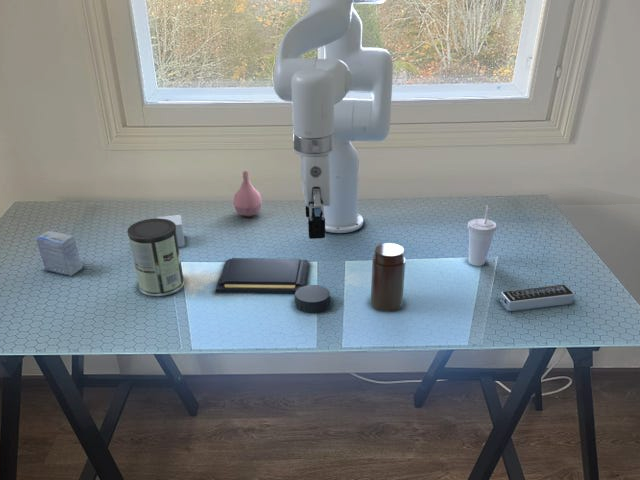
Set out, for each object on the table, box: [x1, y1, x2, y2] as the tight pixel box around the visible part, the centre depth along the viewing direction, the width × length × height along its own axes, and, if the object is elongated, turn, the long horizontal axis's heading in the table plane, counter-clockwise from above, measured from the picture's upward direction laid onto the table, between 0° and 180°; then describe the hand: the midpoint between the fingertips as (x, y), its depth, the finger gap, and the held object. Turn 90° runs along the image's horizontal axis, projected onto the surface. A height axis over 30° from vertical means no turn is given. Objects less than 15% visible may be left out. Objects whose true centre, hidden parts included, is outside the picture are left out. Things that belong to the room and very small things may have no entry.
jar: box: [370, 242, 407, 313], centre depth 134 cm, size 7×7×13 cm
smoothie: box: [467, 205, 498, 267], centre depth 148 cm, size 6×6×14 cm
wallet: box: [215, 257, 310, 294], centre depth 148 cm, size 20×2×15 cm
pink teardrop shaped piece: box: [233, 170, 263, 218], centre depth 174 cm, size 8×8×12 cm
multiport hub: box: [499, 284, 575, 312], centre depth 136 cm, size 4×14×2 cm, turn 101°
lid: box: [294, 284, 331, 314], centre depth 138 cm, size 7×7×3 cm
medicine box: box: [35, 230, 83, 277], centre depth 151 cm, size 8×4×9 cm, turn 65°
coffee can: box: [126, 217, 185, 297], centre depth 142 cm, size 10×10×14 cm
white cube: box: [156, 214, 186, 248], centre depth 163 cm, size 6×6×6 cm
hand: (315, 226), depth 130 cm, fingers open, 9 cm apart
